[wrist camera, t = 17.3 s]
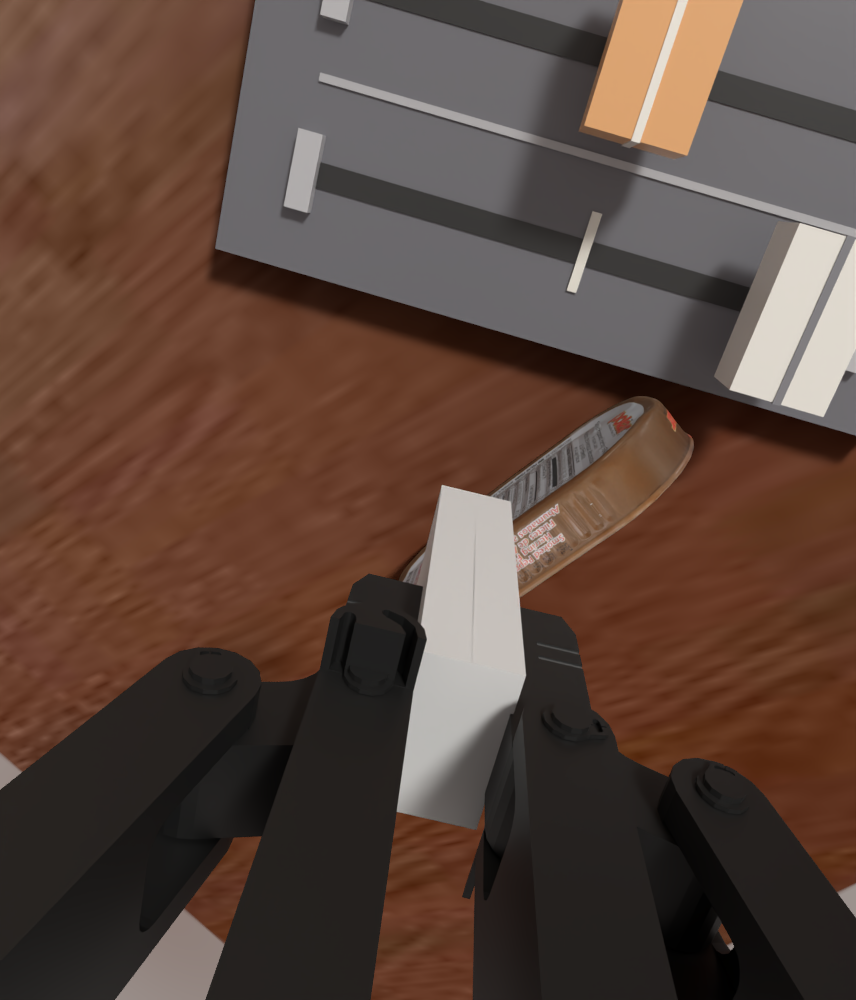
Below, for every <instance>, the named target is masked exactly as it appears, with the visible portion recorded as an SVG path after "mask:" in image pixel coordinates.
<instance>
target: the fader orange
mask: <svg viewBox="0 0 856 1000" xmlns="http://www.w3.org/2000/svg"><path fill="white" fill-rule="evenodd" d="M742 3H743V0H619V3H618V6H617V9H616V13H615V16H614V19H613V22H612V25H611V29H610V32H609V35H608V38H607V42H606V45H605V48H604V51H603V54H602V58H601V61H600V64H599V67H598V70H597V74H596V77H595V80H594V83H593V87H592V90H591V93H590V96H589V99H588V103H587V106H586V109H585V112H584V116H583V119H582V122H581V125H580V128H579V132H582V133H585V134H589V135H592V136H596V137H599V138H602V139H606V140H609V141H613V142H616V143H620V144H622V146H624V147H627V148H631V147H633V148H637V149H640V150H643V151H647V152H650V153H654V154H657V155H661V156H664V157H667V158H671V159H677V158H680V157H684V156H687V155H688V152H689V149H690V147H691V144H692V141H693V138H694V136H695V133H696V130H697V127H698V125H699V122H700V119H701V116H702V113H703V111H704V108H705V105H706V102H707V100H708V97H709V94H710V91H711V89H712V86H713V83H714V80H715V78H716V75H717V72H718V69H719V66H720V64H721V61H722V58H723V55H724V53H725V50H726V47H727V44H728V42H729V39H730V36H731V33H732V30H733V28H734V25H735V22H736V19H737V17H738V14H739V11H740V8H741V6H742Z"/></svg>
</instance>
